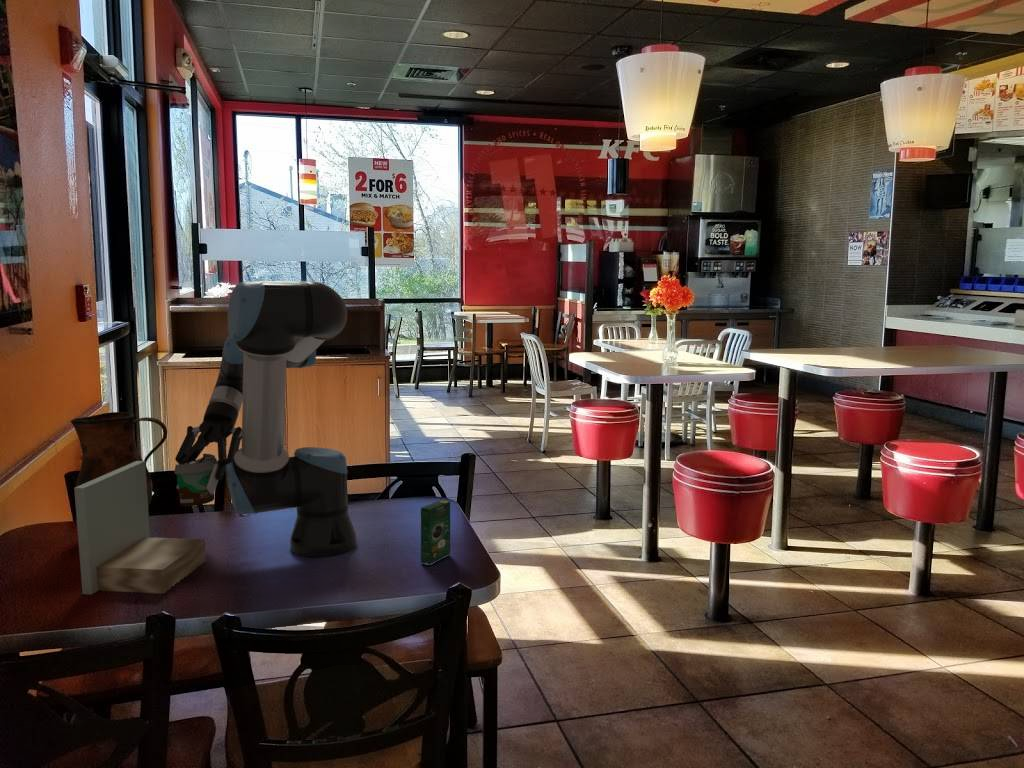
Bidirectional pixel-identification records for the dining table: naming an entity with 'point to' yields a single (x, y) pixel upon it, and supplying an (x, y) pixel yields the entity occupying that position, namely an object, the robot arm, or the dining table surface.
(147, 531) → the wall board
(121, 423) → the pitcher
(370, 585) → the dining table surface
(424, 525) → the coffee box
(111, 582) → the block
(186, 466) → the food container
